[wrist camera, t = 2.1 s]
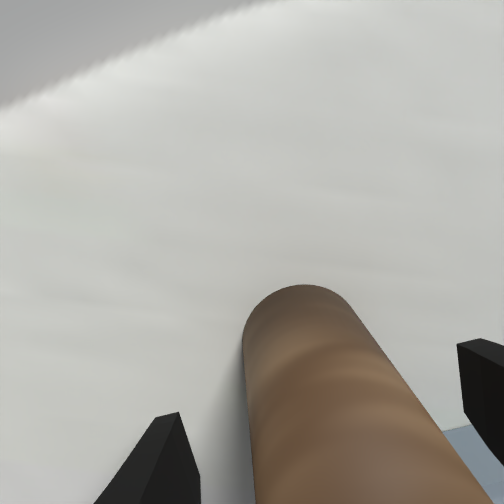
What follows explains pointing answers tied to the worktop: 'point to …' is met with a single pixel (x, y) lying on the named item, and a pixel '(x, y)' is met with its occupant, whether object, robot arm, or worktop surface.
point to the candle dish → (479, 460)
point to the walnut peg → (339, 413)
